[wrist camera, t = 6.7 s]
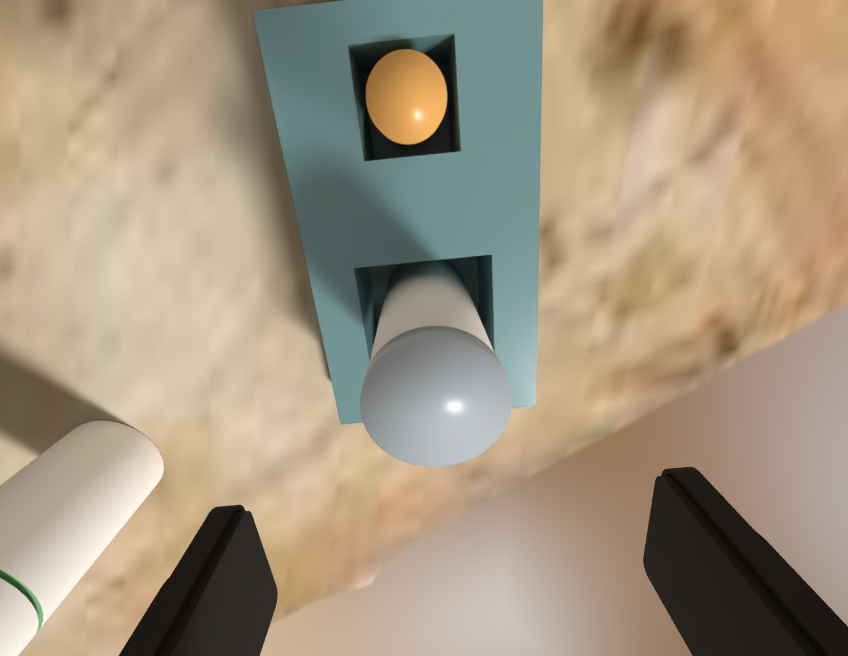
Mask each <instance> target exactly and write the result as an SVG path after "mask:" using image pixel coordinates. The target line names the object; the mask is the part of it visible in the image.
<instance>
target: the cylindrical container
mask: <svg viewBox="0 0 848 656" xmlns="http://www.w3.org/2000/svg"><path fill="white" fill-rule="evenodd" d="M163 470H164V467H163V460H162V457H161V454H160V452H159V451H158V449H157V447H156V446H155V445H154V444H153V442H152V441H150V440H149V439H148V438H147V437H146V436H145V435H143V434H142V433H140V432H139V431H137V430H136V429H134V428H131V427H129V426H127V425H124V424H121V423H118V422H113V421H105V420H97V421H90V422H86V423H84V424H81V425H79V426H78V427H76V428H74V429H73V430H72V431H70V432H69V433H68V434H67V435H65V436H64V437H63V438H61V439H60V440H59V441H58V442H56V443H55V444H54V445H52V446H51V447H50V448H48V449H47V450H46V451H45V452H43V453H42V454H41V455H39V456H38V457H37V458H36V459H34V460H33V461H32V462H30V463H29V464H28V465H27V466H25V467H24V468H23V469H21V470H20V471H19V472H17V473H16V474H15V475H14V476H12V477H11V478H10V479H8V480H7V481H6V482H5V483H3V484H2V485H1V486H0V656H18V655H19V654H20V652H21V651H22V650H23V649H24V648H25V646H26V645H27V644H28V643H29V641H30V640H31V639H32V638H33V636H34V635H35V634H36V633H37V631H38V630H39V629H40V628H41V626H42V625H43V624H44V623H45V622H46V620H47V619H48V618H49V617H50V615H51V614H52V613H53V612H54V610H55V609H56V608H57V607H58V606H59V604H60V603H61V602H62V601H63V599H64V598H65V597H66V596H67V594H68V593H69V592H70V591H71V589H72V588H73V587H74V586H75V585H76V583H77V582H78V581H79V580H80V578H81V577H82V576H83V575H84V573H85V572H86V571H87V570H88V569H89V567H90V566H91V565H92V564H93V562H94V561H95V560H96V559H97V557H98V556H99V555H100V554H101V553H102V551H103V550H104V549H105V548H106V546H107V545H108V544H109V543H110V541H111V540H112V539H113V538H114V536H115V535H116V534H117V533H118V532H119V530H120V529H121V528H122V527H123V525H124V524H125V523H126V522H127V520H128V519H129V518H130V517H131V516H132V514H133V513H134V512H135V511H136V509H137V508H138V507H139V506H140V504H141V503H142V502H143V501H144V500H145V498H146V497H147V496H148V495H149V493H150V492H151V491H152V490H153V488H154V487H155V486H156V485H157V483H158V482H159V481H160V479H161V477H162V474H163Z"/></svg>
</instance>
